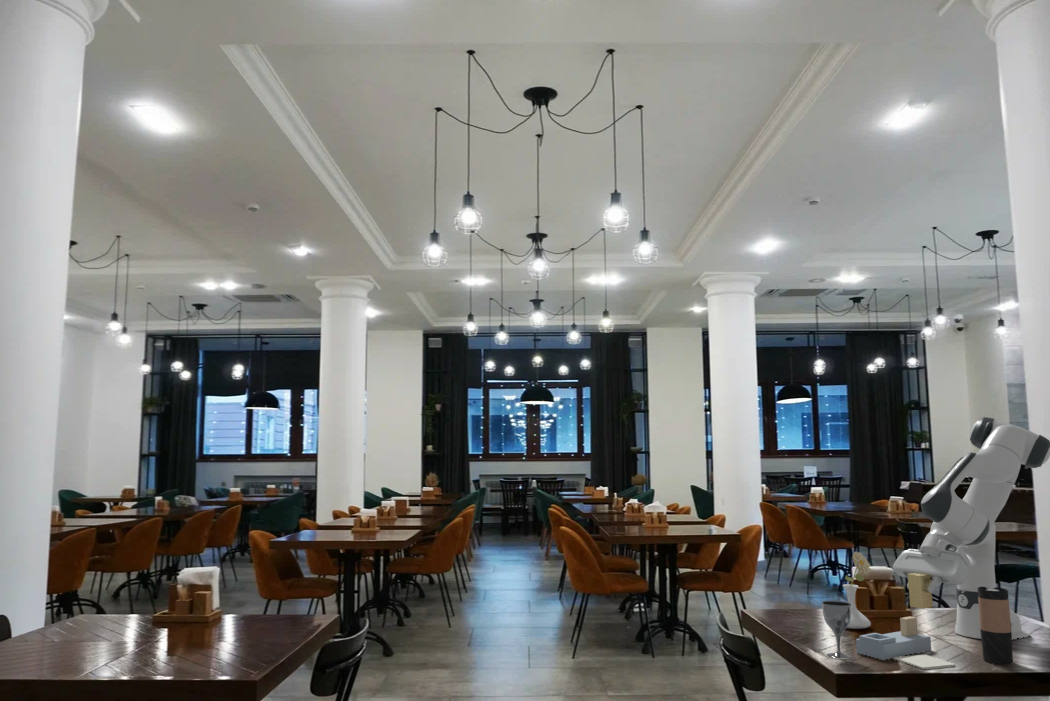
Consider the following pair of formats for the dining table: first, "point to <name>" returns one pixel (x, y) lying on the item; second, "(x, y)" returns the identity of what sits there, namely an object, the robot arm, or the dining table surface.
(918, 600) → the yellow rectangular block
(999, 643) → the travel mug
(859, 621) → the flower in vase
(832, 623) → the wine glass
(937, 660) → the felt mat
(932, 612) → the dining table surface
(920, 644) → the grey stepped base plate
